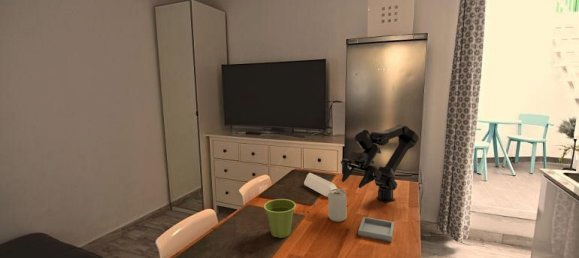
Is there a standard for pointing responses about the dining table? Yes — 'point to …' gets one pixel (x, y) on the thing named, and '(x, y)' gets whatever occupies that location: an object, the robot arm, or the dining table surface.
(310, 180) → the crystal
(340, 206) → the can
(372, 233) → the tray
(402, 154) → the robot arm
